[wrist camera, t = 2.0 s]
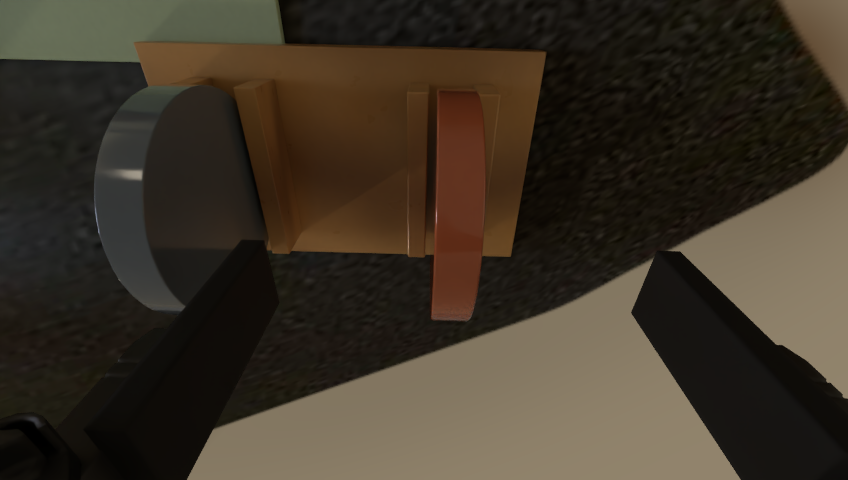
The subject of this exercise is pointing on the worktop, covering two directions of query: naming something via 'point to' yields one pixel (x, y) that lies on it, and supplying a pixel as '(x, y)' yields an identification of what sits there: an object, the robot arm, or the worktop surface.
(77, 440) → the robot arm
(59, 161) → the worktop surface
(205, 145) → the slate coaster
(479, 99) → the terracotta coaster
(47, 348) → the worktop surface
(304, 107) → the coaster rack
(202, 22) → the sage mat
